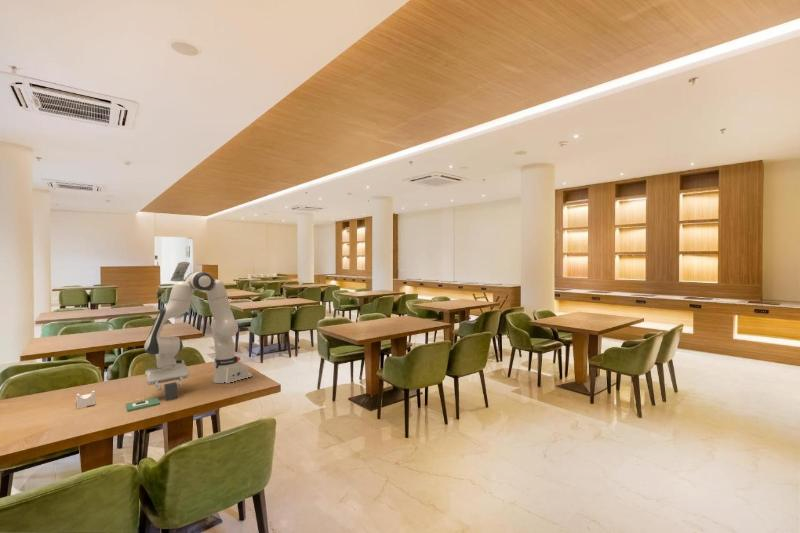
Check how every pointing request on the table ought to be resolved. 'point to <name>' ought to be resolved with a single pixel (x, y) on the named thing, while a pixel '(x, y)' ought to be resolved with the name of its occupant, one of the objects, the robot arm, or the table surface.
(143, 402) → the header board
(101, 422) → the table surface
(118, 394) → the table surface
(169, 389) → the block
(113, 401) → the table surface
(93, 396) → the bracket
